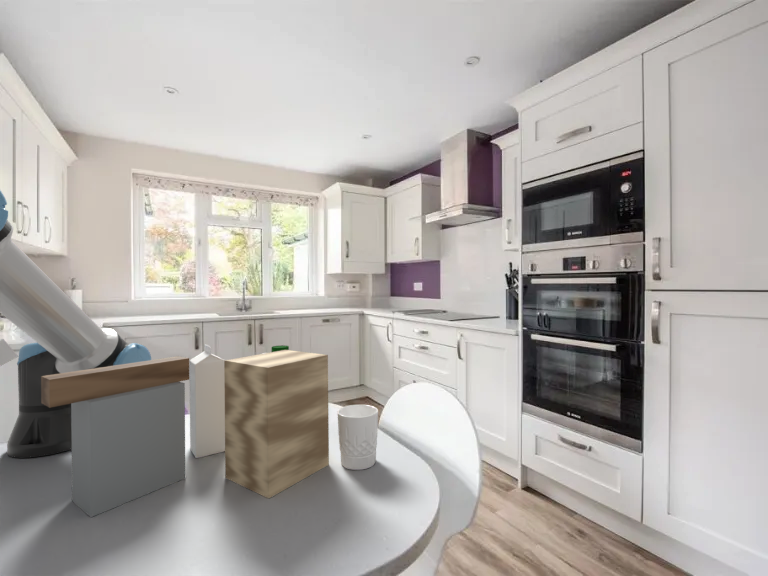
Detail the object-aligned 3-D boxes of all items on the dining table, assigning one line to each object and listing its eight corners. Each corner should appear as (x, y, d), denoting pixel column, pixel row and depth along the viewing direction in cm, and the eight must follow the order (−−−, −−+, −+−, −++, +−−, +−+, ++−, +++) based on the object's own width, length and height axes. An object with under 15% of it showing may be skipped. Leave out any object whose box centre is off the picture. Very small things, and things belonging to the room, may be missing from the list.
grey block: (71, 500, 60) (71, 394, 60) (163, 466, 72) (162, 377, 72) (90, 517, 56) (90, 402, 56) (185, 478, 67) (184, 383, 67)
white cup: (345, 475, 68) (344, 419, 68) (333, 457, 75) (332, 407, 75) (385, 466, 71) (384, 413, 71) (369, 450, 78) (369, 402, 78)
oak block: (225, 478, 67) (224, 360, 67) (286, 450, 79) (285, 349, 79) (268, 498, 60) (267, 367, 60) (328, 464, 72) (327, 354, 72)
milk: (195, 459, 75) (194, 348, 75) (190, 448, 80) (188, 345, 80) (227, 450, 79) (226, 345, 79) (220, 441, 84) (218, 342, 84)
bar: (41, 403, 56) (41, 376, 56) (178, 376, 72) (178, 356, 72) (49, 407, 54) (49, 379, 54) (189, 379, 70) (189, 358, 70)
